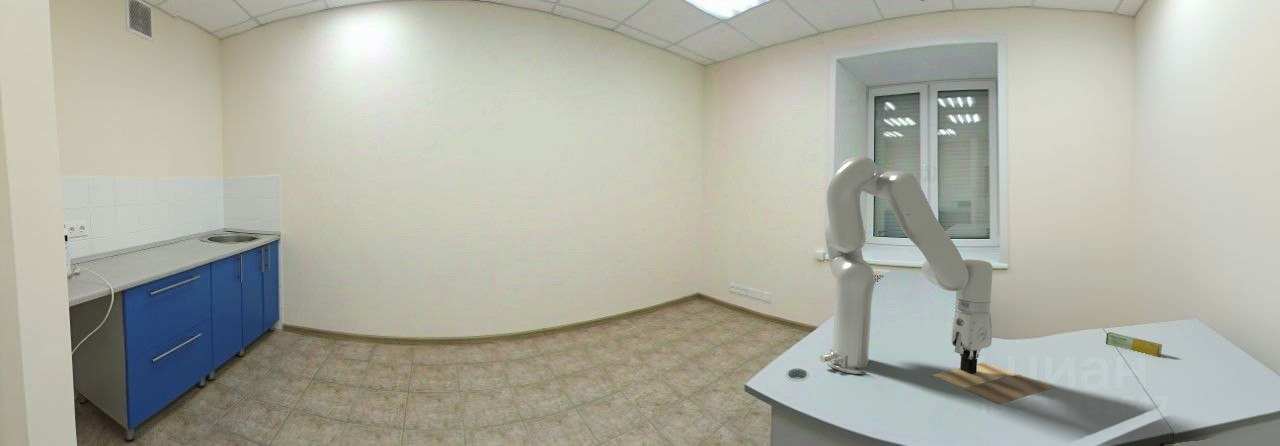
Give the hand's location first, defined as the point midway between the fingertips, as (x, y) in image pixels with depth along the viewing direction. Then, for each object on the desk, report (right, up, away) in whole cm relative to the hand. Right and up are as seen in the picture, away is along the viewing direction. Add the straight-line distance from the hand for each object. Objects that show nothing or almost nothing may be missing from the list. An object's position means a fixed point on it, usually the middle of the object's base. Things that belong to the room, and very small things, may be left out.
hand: (968, 371), depth 122 cm
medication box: (+68, 0, +21) cm, 71 cm away
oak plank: (0, -2, -2) cm, 2 cm away
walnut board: (+3, -3, -9) cm, 10 cm away
